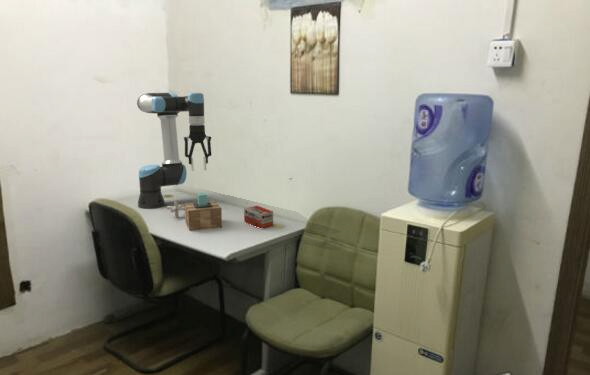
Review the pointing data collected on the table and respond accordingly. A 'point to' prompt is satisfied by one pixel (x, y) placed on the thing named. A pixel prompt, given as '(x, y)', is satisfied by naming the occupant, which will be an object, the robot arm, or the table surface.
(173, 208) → the pipe connector
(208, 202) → the collar
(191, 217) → the socket block
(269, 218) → the medicine box
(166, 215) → the table surface
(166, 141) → the robot arm
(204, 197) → the peg
